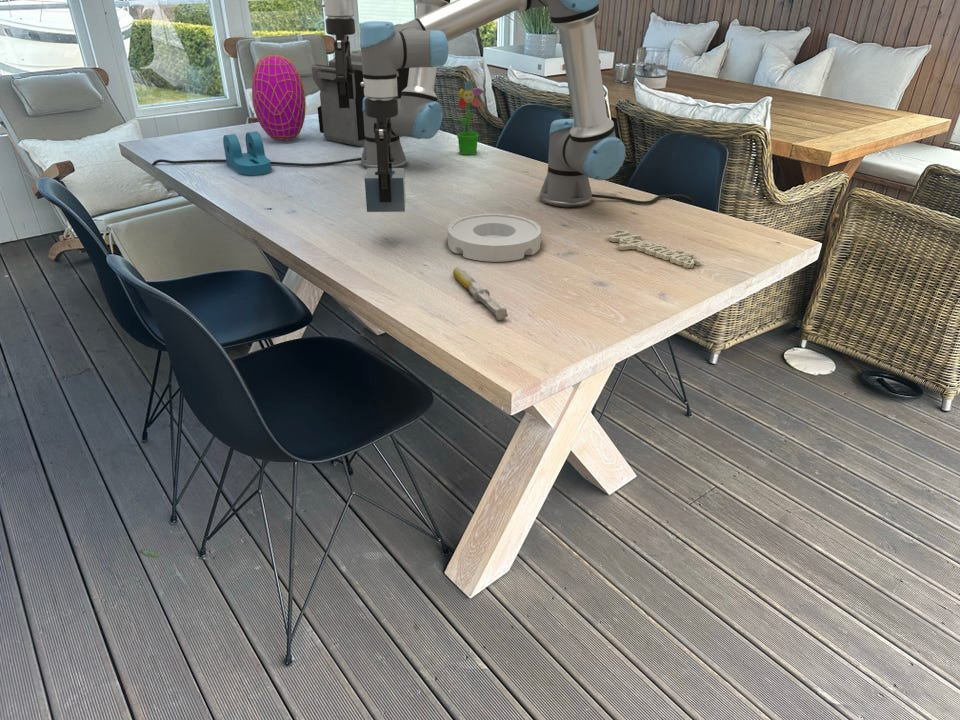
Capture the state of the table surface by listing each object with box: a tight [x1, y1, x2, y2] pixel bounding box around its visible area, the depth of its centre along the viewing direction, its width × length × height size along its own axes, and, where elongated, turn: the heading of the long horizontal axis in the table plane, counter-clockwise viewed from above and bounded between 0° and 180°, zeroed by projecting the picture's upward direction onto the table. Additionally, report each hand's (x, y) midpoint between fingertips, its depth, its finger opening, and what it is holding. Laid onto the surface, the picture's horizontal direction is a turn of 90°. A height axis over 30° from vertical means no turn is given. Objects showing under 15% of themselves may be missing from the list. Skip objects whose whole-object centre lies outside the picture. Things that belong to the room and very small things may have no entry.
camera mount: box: [222, 131, 272, 176], centre depth 226 cm, size 18×10×10 cm, turn 35°
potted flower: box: [456, 80, 485, 156], centre depth 244 cm, size 9×8×25 cm
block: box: [363, 167, 407, 213], centre depth 166 cm, size 9×9×8 cm
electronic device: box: [311, 49, 409, 147], centre depth 265 cm, size 37×22×30 cm, turn 144°
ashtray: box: [447, 213, 542, 263], centre depth 170 cm, size 23×23×4 cm
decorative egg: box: [251, 54, 307, 142], centre depth 257 cm, size 19×19×30 cm
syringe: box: [452, 266, 509, 321], centre depth 145 cm, size 25×4×3 cm, turn 21°
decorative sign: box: [609, 229, 701, 269], centre depth 168 cm, size 26×1×10 cm
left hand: (346, 103), depth 189 cm, fingers open, 13 cm apart
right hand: (386, 195), depth 167 cm, fingers closed on block, 9 cm apart
